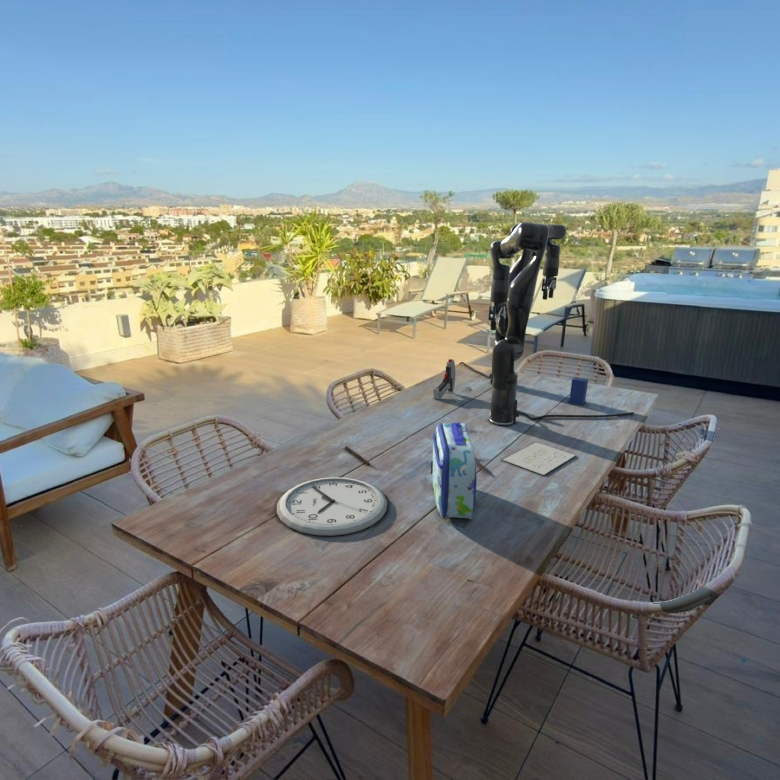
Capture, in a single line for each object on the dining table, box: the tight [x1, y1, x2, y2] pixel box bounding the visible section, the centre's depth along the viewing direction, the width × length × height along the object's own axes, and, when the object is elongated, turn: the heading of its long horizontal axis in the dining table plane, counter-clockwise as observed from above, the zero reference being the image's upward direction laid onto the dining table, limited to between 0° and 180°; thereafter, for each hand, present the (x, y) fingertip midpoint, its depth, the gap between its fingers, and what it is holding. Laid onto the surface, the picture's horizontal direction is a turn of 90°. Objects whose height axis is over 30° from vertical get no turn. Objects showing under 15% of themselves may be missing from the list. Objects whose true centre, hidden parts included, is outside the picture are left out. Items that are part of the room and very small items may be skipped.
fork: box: [475, 459, 488, 474], centre depth 169 cm, size 3×16×2 cm, turn 15°
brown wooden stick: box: [344, 445, 370, 465], centre depth 173 cm, size 15×1×1 cm, turn 34°
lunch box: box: [430, 422, 478, 520], centre depth 143 cm, size 26×11×21 cm, turn 179°
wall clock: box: [276, 476, 388, 537], centre depth 142 cm, size 30×2×30 cm
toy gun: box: [433, 358, 456, 400], centre depth 235 cm, size 2×16×15 cm
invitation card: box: [502, 442, 577, 476], centre depth 174 cm, size 21×1×15 cm
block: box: [568, 376, 589, 406], centre depth 230 cm, size 4×6×11 cm
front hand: (497, 328), depth 224 cm, fingers open, 8 cm apart
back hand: (547, 298), depth 267 cm, fingers open, 8 cm apart
